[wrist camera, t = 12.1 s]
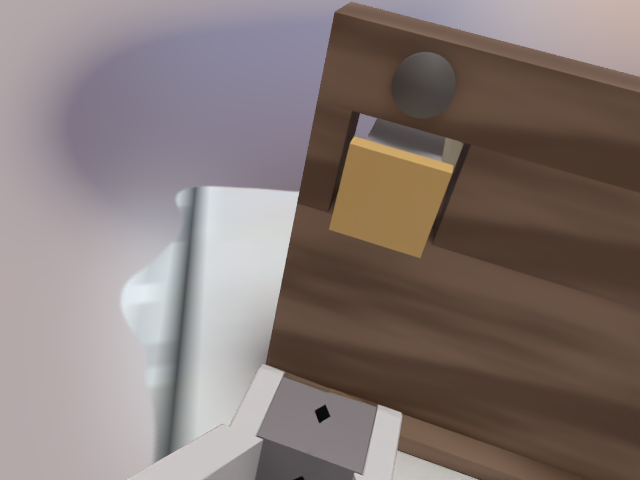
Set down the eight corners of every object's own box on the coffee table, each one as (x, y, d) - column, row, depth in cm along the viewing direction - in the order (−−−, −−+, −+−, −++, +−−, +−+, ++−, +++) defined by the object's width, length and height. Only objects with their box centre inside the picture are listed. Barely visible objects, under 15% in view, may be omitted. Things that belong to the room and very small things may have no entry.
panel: (659, 544, 27) (1044, 209, 16) (253, 398, 30) (324, 17, 18) (632, 448, 32) (909, 140, 21) (285, 330, 35) (358, -3, 23)
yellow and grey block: (420, 258, 22) (452, 173, 19) (328, 229, 22) (349, 143, 20) (433, 184, 28) (459, 113, 25) (362, 162, 28) (380, 91, 26)
